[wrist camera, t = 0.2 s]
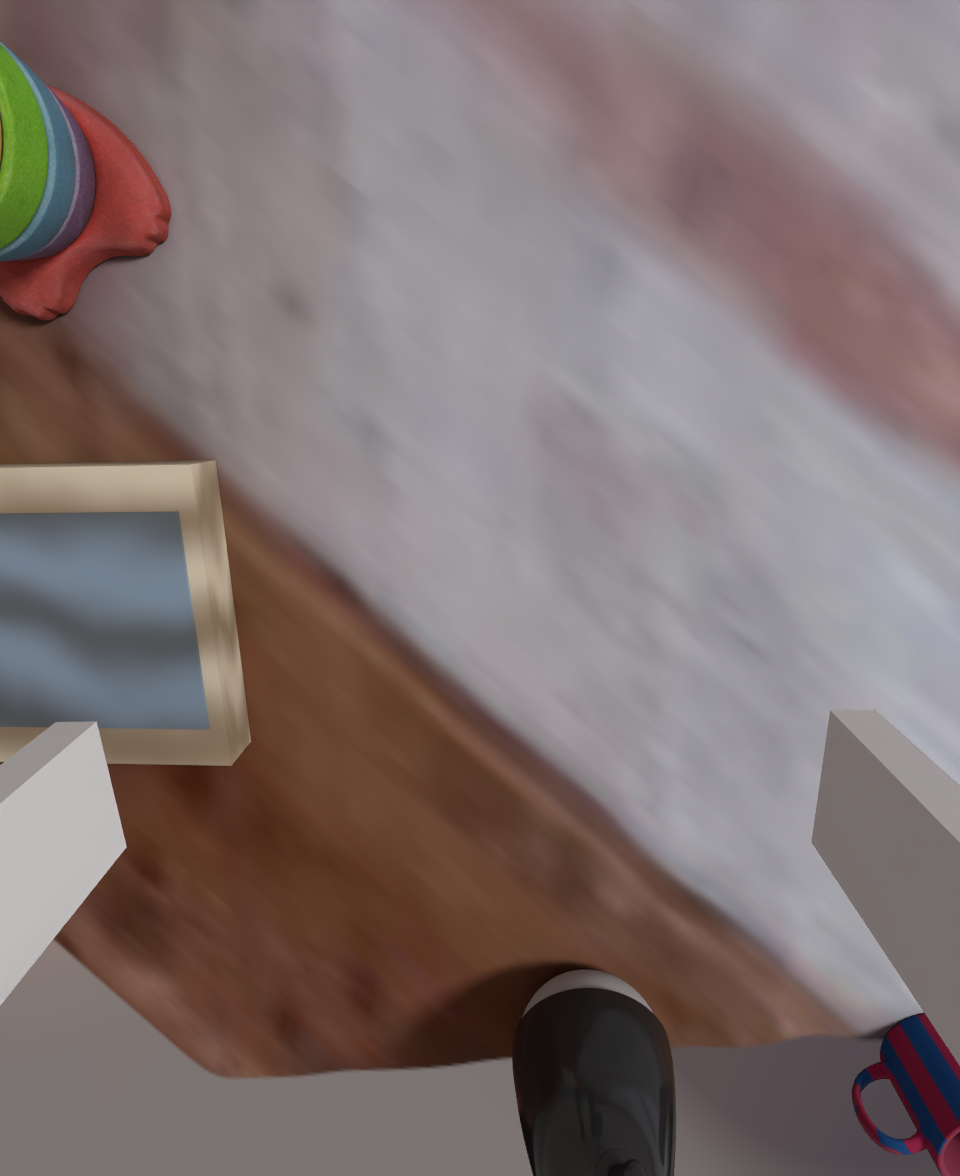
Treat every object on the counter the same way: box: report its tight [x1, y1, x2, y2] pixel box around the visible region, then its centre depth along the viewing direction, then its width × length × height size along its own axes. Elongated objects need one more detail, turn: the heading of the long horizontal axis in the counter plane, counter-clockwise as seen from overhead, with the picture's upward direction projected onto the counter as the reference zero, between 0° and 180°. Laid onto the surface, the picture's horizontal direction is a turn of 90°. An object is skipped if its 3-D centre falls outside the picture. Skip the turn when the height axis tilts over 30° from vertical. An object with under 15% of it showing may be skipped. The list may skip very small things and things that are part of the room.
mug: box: [852, 1014, 960, 1176], centre depth 43 cm, size 7×10×7 cm
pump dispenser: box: [512, 969, 677, 1176], centre depth 39 cm, size 10×10×15 cm
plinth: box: [0, 460, 251, 766], centre depth 40 cm, size 18×16×3 cm
